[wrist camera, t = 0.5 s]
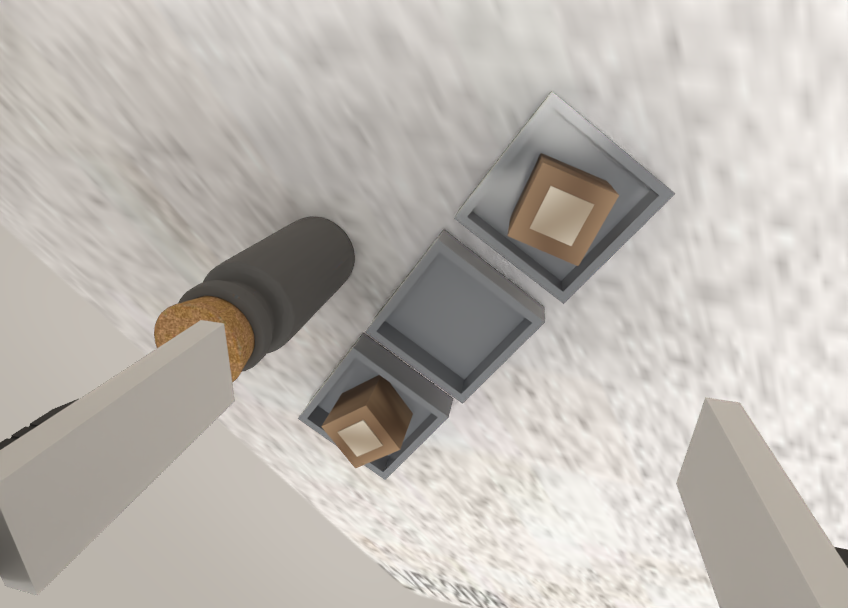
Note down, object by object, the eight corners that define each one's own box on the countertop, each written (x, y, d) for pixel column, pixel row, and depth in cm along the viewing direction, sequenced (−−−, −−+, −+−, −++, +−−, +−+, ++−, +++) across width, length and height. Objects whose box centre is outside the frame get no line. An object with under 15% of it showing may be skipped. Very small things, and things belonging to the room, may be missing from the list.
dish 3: (459, 209, 33) (454, 218, 31) (551, 91, 29) (552, 91, 27) (561, 289, 34) (563, 303, 32) (664, 186, 30) (675, 193, 28)
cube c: (341, 393, 41) (320, 427, 37) (382, 372, 39) (365, 406, 35) (372, 432, 42) (354, 469, 38) (412, 413, 40) (399, 450, 36)
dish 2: (375, 317, 38) (365, 332, 36) (443, 229, 34) (437, 239, 32) (466, 385, 39) (462, 403, 36) (544, 307, 35) (545, 322, 32)
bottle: (346, 299, 38) (245, 414, 24) (278, 274, 38) (140, 375, 25) (363, 230, 35) (260, 318, 22) (289, 205, 35) (143, 275, 22)
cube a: (510, 217, 32) (507, 236, 28) (540, 152, 30) (542, 162, 26) (572, 244, 32) (578, 267, 28) (607, 181, 30) (619, 195, 26)
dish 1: (310, 401, 43) (297, 418, 40) (363, 332, 39) (353, 347, 36) (392, 459, 43) (385, 479, 41) (453, 398, 39) (448, 417, 37)
